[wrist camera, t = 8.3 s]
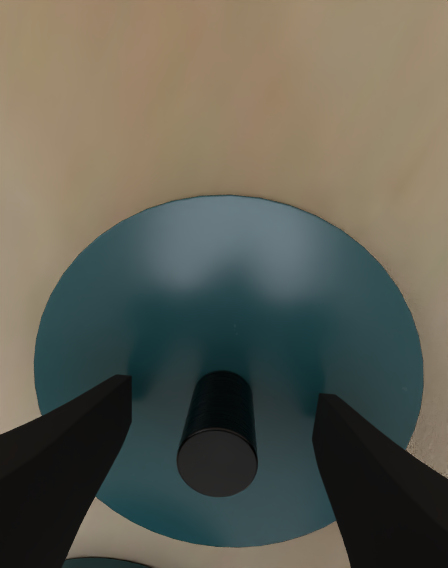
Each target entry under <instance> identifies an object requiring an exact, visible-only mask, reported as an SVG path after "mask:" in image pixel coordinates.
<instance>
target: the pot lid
mask: <svg viewBox="0 0 448 568" xmlns="http://www.w3.org/2000/svg"><path fill="white" fill-rule="evenodd" d="M116 374H119V375H130V376H132V423H131V425H130V428H129V431H128V433H127V436H126V438H125V441H124V443H123V446H122V448H121V450H120V452H119V454H118V456H117V457H116V459H115V461H114V463H113V465H112V467H111V469H110V470H109V472H108V474H107V476H106V478H105V480H104V481H103V483H102V485H101V487H100V489H99V491H98V492H97V494H96V497H97V498H98V499H99V500H101V501H102V502H103V503H104V504H106V505H107V506H108V507H110V508H111V509H112V510H114V511H115V512H117V513H118V514H120V515H122V516H123V517H125V518H127V519H128V520H130V521H132V522H133V523H136V524H138V525H140V526H142V527H144V528H146V529H148V530H150V531H153V532H155V533H158V534H161V535H164V536H167V537H170V538H173V539H177V540H181V541H185V542H189V543H193V544H200V545H207V546H215V547H251V546H262V545H268V544H274V543H279V542H284V541H287V540H291V539H294V538H298V537H301V536H304V535H307V534H309V533H312V532H314V531H316V530H319V529H321V528H324V527H326V526H327V525H329V524H331V523H333V522H335V521H336V518H335V515H334V512H333V510H332V507H331V504H330V501H329V498H328V495H327V493H326V490H325V487H324V484H323V481H322V478H321V475H320V472H319V469H318V466H317V462H316V457H315V453H314V448H313V443H312V434H313V428H314V422H315V415H316V409H317V403H318V397H319V393H326V394H336V395H337V396H338V397H340V398H341V399H342V400H343V401H345V402H346V403H347V404H348V405H350V406H351V407H352V408H353V409H354V410H355V411H357V412H358V413H359V414H360V415H361V416H363V417H364V418H365V419H366V420H367V421H368V422H370V423H371V424H372V425H373V426H375V427H376V428H377V429H378V430H379V431H381V432H382V433H383V434H385V435H386V436H387V437H388V438H390V439H391V440H392V441H394V442H395V443H396V444H398V445H399V446H400V447H402V448H403V449H404V450H406V448H407V445H408V443H409V441H410V439H411V437H412V434H413V432H414V429H415V426H416V422H417V419H418V415H419V412H420V408H421V401H422V393H423V386H424V381H423V357H422V352H421V346H420V340H419V335H418V332H417V329H416V326H415V323H414V320H413V317H412V314H411V312H410V310H409V308H408V306H407V304H406V302H405V300H404V298H403V296H402V294H401V292H400V290H399V288H398V287H397V286H396V284H395V283H394V282H393V280H392V279H391V277H390V276H389V275H388V273H387V272H386V270H385V269H384V268H383V266H382V265H381V264H380V263H379V262H378V261H377V260H376V259H375V258H374V257H373V256H372V255H371V254H370V253H369V252H368V251H367V250H366V249H365V248H364V247H363V246H362V245H360V244H359V243H358V242H357V241H355V240H354V239H353V238H351V237H350V236H349V235H347V234H346V233H345V232H344V231H342V230H341V229H339V228H337V227H336V226H334V225H332V224H330V223H328V222H327V221H325V220H323V219H321V218H320V217H318V216H316V215H314V214H311V213H309V212H306V211H303V210H301V209H298V208H296V207H293V206H291V205H288V204H284V203H280V202H276V201H271V200H267V199H263V198H258V197H248V196H238V195H208V196H197V197H191V198H186V199H180V200H174V201H170V202H167V203H164V204H161V205H158V206H155V207H152V208H149V209H146V210H144V211H141V212H139V213H137V214H135V215H133V216H131V217H129V218H127V219H125V220H123V221H121V222H119V223H118V224H116V225H115V226H113V227H112V228H111V229H109V230H108V231H106V232H105V233H103V234H102V235H100V236H99V237H98V238H96V239H95V240H94V241H93V242H92V243H91V244H90V245H89V246H88V247H87V248H85V249H84V250H83V251H82V252H81V253H80V254H79V255H78V256H77V258H76V259H75V260H74V261H73V262H72V264H71V265H70V266H69V267H68V269H67V270H66V271H65V272H64V273H63V275H62V277H61V278H60V280H59V282H58V284H57V285H56V287H55V289H54V290H53V292H52V294H51V295H50V298H49V300H48V303H47V305H46V308H45V310H44V312H43V315H42V317H41V321H40V325H39V330H38V334H37V338H36V345H35V355H34V378H35V389H36V394H37V399H38V405H39V409H40V412H41V415H42V416H43V415H45V414H47V413H49V412H51V411H52V410H54V409H56V408H58V407H60V406H62V405H64V404H65V403H67V402H69V401H71V400H73V399H75V398H76V397H78V396H80V395H81V394H83V393H85V392H86V391H88V390H90V389H92V388H93V387H95V386H97V385H98V384H100V383H102V382H103V381H105V380H107V379H109V378H110V377H112V376H114V375H116Z"/></svg>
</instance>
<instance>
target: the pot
mask: <svg viewBox="0 0 448 568" xmlns="http://www.w3.org/2000/svg"><path fill="white" fill-rule="evenodd" d="M62 568H150V567H147V566H144V565H140V564H136V563H132V562H128V561H123V560H116V559H108V558H78V559H69V560H65V561H64V564H63V566H62Z"/></svg>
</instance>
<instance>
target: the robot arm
mask: <svg viewBox="0 0 448 568" xmlns="http://www.w3.org/2000/svg"><path fill="white" fill-rule="evenodd" d="M131 423H132V376H130V375H119V374H116V375H114V376H112V377H110V378H109V379H107V380H105V381H103V382H102V383H100V384H98V385H97V386H95V387H93V388H92V389H90V390H88V391H86V392H85V393H83V394H81V395H80V396H78V397H76V398H75V399H73V400H71V401H69V402H67V403H65V404H64V405H62V406H60V407H58V408H56V409H54V410H52V411H51V412H49V413H47V414H45V415H43V416H41V417H39V418H37V419H35V420H33V421H30V422H28V423H26V424H24V425H22V426H19V427H17V428H15V429H13V430H10V431H8V432H6V433H3V434H1V435H0V568H62V566H63V564H64V561H65V559H66V557H67V554H68V552H69V550H70V548H71V545H72V543H73V541H74V539H75V536H76V534H77V532H78V529H79V527H80V525H81V523H82V521H83V519H84V517H85V515H86V513H87V511H88V509H89V507H90V505H91V503H92V502H93V500H94V498H95V496H96V494H97V492H98V491H99V489H100V487H101V485H102V483H103V481H104V480H105V478H106V476H107V474H108V472H109V470H110V469H111V467H112V465H113V463H114V461H115V459H116V457H117V456H118V454H119V452H120V450H121V448H122V446H123V443H124V441H125V438H126V436H127V433H128V431H129V428H130V425H131ZM312 443H313V448H314V453H315V457H316V462H317V466H318V469H319V472H320V475H321V478H322V481H323V484H324V487H325V490H326V493H327V495H328V498H329V501H330V504H331V507H332V510H333V512H334V515H335V518H336V521H337V524H338V527H339V529H340V532H341V535H342V538H343V541H344V545H345V548H346V551H347V554H348V558H349V562H350V566H351V568H448V479H447V478H445V477H444V476H442V475H441V474H439V473H438V472H436V471H435V470H433V469H432V468H430V467H429V466H427V465H426V464H424V463H423V462H421V461H420V460H418V459H417V458H415V457H414V456H412V455H411V454H410V453H408V452H407V451H406V450H404V449H403V448H402V447H400V446H399V445H398V444H396V443H395V442H394V441H392V440H391V439H390V438H388V437H387V436H386V435H385V434H383V433H382V432H381V431H379V430H378V429H377V428H376V427H375V426H373V425H372V424H371V423H370V422H368V421H367V420H366V419H365V418H364V417H363V416H361V415H360V414H359V413H358V412H357V411H355V410H354V409H353V408H352V407H351V406H350V405H348V404H347V403H346V402H345V401H343V400H342V399H341V398H340V397H338V396H337V395H336V394H326V393H319V397H318V403H317V409H316V415H315V422H314V428H313V434H312Z"/></svg>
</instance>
